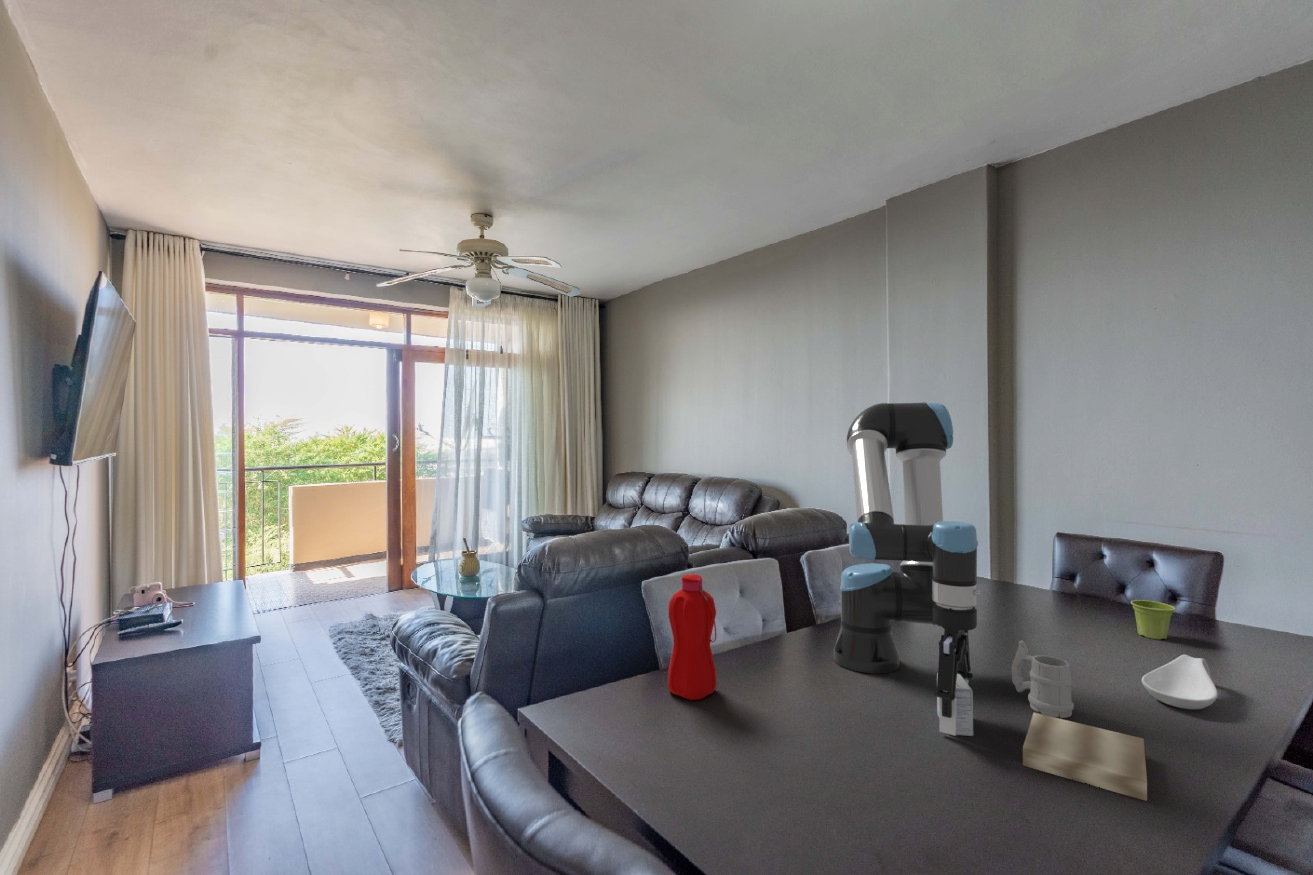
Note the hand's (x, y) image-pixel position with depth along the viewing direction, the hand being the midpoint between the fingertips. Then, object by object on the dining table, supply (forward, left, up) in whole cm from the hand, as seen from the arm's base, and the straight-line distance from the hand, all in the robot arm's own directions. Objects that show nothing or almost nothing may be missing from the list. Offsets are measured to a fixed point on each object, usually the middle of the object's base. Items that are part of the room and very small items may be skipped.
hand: (954, 721), depth 113 cm
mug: (+12, +20, -1) cm, 23 cm away
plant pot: (+32, +89, -1) cm, 95 cm away
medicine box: (0, 0, -1) cm, 1 cm away
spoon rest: (+36, +45, -1) cm, 57 cm away
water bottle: (-47, -18, -1) cm, 50 cm away
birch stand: (+20, 0, -1) cm, 20 cm away
